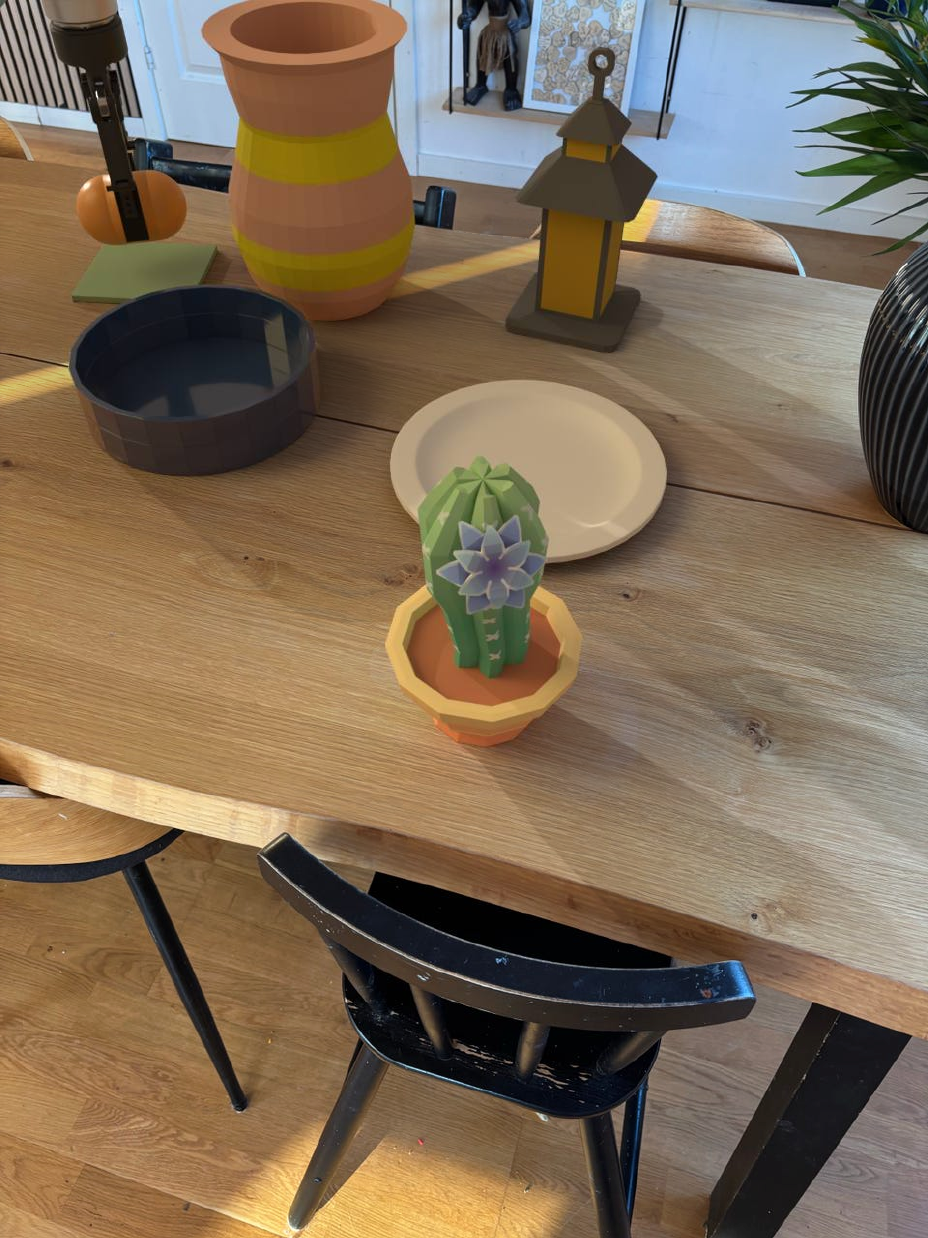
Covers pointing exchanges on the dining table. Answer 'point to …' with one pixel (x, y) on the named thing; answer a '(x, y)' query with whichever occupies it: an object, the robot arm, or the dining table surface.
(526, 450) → the plate
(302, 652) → the dining table surface
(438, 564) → the potted cactus
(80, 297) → the mat
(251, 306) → the bowl
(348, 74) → the vase
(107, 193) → the orange capsule
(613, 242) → the lantern
